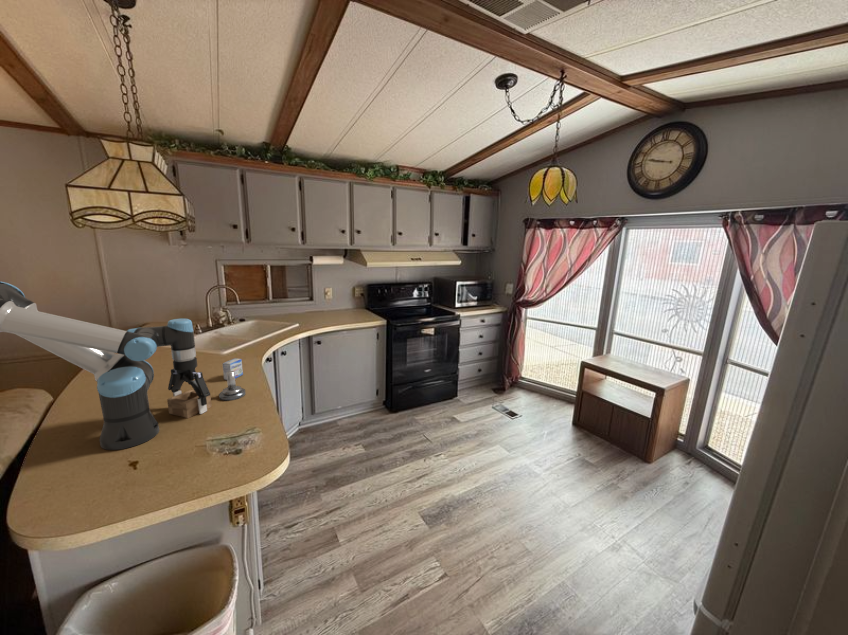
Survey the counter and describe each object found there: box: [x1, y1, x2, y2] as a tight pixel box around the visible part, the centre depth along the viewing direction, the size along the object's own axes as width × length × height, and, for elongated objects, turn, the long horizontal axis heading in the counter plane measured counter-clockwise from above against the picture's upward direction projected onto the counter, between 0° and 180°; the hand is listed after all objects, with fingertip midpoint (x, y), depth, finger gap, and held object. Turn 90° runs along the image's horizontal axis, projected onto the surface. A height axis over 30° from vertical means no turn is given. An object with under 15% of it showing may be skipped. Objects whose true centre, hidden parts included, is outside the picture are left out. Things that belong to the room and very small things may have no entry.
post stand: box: [218, 371, 246, 402], centre depth 145 cm, size 10×10×11 cm
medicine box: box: [222, 358, 244, 381], centre depth 165 cm, size 8×4×9 cm, turn 168°
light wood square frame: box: [166, 388, 213, 419], centre depth 132 cm, size 10×10×6 cm
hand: (191, 409), depth 133 cm, fingers open, 12 cm apart
